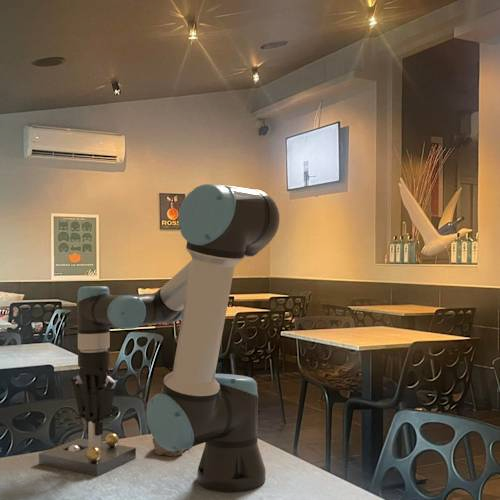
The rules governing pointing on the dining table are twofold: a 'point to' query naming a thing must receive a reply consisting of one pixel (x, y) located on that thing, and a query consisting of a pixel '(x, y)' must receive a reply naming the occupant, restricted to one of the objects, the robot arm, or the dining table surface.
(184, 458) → the dining table surface
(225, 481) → the robot arm
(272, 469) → the dining table surface
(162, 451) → the stone
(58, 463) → the plate
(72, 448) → the steel ball
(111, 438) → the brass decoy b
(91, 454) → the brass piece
